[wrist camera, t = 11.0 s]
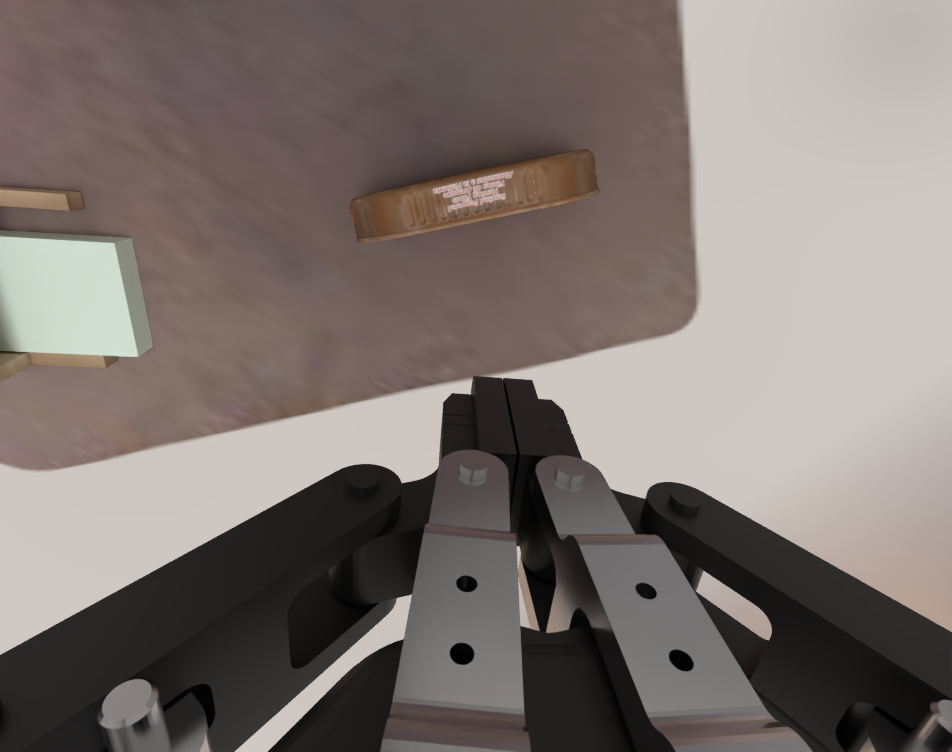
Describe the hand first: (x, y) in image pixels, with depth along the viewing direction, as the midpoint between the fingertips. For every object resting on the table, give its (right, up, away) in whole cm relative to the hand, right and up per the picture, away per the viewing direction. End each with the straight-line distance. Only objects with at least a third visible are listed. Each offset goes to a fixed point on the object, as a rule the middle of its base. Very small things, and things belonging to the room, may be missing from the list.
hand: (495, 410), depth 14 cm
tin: (-1, +14, +22) cm, 26 cm away
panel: (-32, +7, +24) cm, 41 cm away
